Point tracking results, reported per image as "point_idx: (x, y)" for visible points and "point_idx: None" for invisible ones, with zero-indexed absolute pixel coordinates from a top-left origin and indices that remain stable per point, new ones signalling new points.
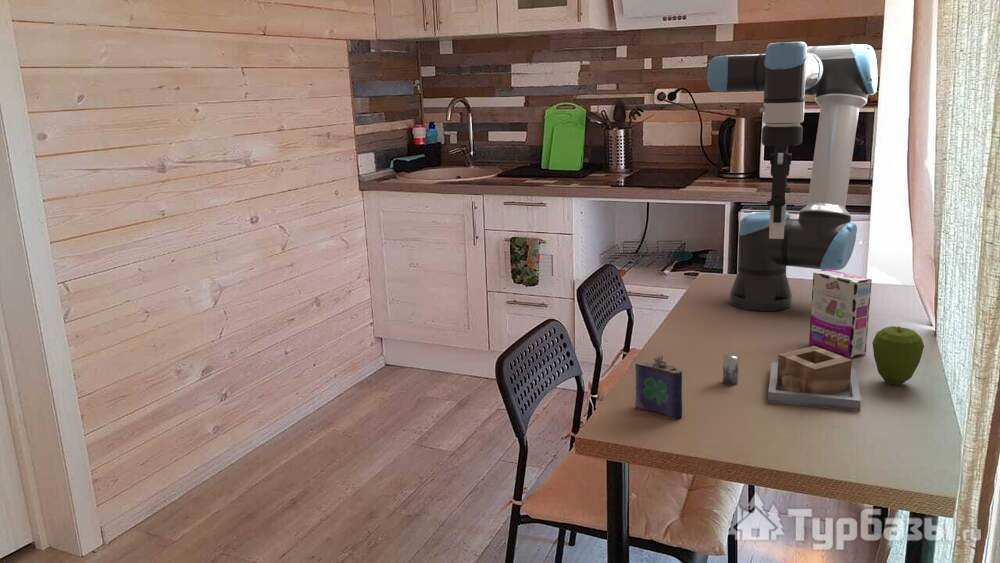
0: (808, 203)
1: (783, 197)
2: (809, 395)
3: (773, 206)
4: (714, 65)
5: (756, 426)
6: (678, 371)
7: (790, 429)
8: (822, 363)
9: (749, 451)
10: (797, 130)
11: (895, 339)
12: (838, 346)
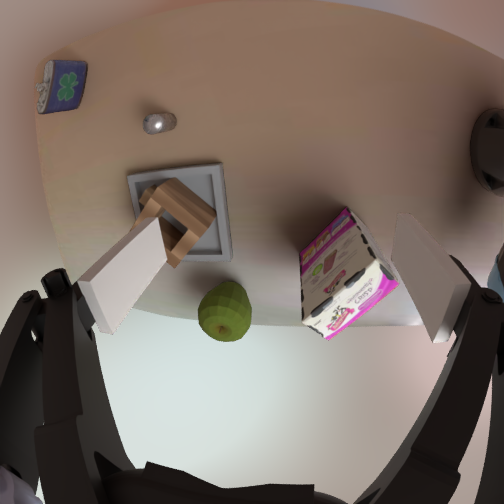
0: None
1: (37, 345)
2: (136, 216)
3: (84, 289)
4: None
5: (86, 173)
6: (39, 111)
7: (93, 201)
8: None
9: (54, 179)
10: None
11: (200, 320)
12: (312, 245)
